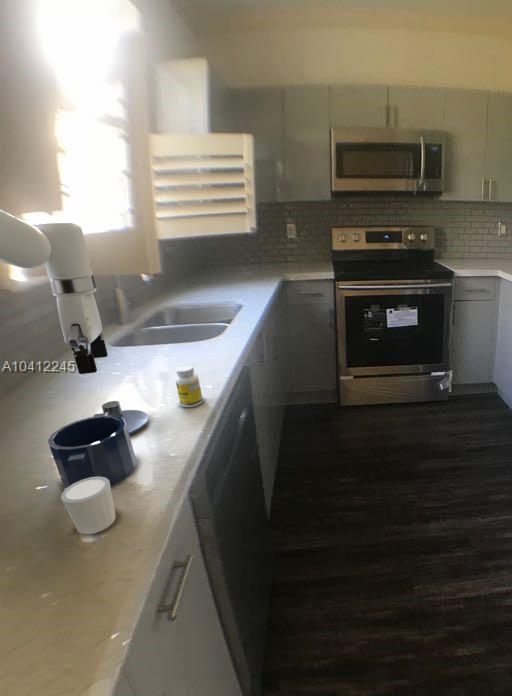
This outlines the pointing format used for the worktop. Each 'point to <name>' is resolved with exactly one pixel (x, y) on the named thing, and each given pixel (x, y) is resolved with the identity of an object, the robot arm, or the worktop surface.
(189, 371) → the supplement bottle
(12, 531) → the worktop surface
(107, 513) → the white cup
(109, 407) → the pot lid
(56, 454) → the pot
